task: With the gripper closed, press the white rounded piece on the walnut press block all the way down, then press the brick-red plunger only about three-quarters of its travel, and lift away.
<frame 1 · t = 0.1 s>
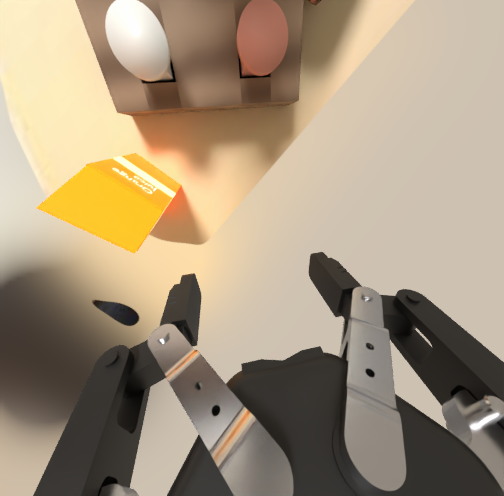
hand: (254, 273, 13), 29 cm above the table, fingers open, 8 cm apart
press block: (206, 69, 28), on the table
orange juice: (150, 186, 35), on the table
brick plunger: (257, 49, 23), point 7 cm above the table, slide at 0.0 cm
white rounded piece: (147, 53, 21), point 7 cm above the table, slide at 0.0 cm
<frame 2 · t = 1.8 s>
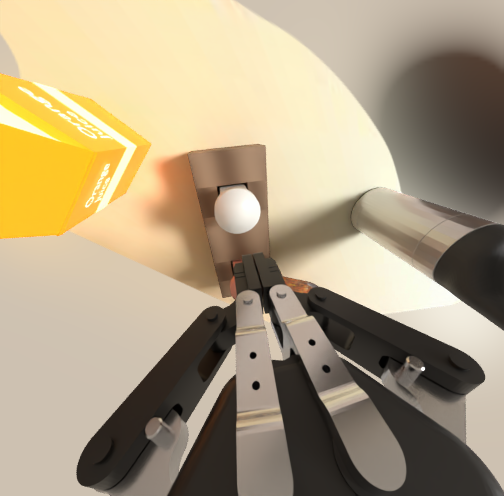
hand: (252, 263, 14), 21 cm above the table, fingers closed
press block: (236, 225, 35), on the table
orange juice: (110, 151, 26), on the table
brick plunger: (245, 276, 32), point 7 cm above the table, slide at 0.0 cm
tin: (293, 283, 46), on the table
white rounded piece: (235, 204, 25), point 7 cm above the table, slide at 0.0 cm
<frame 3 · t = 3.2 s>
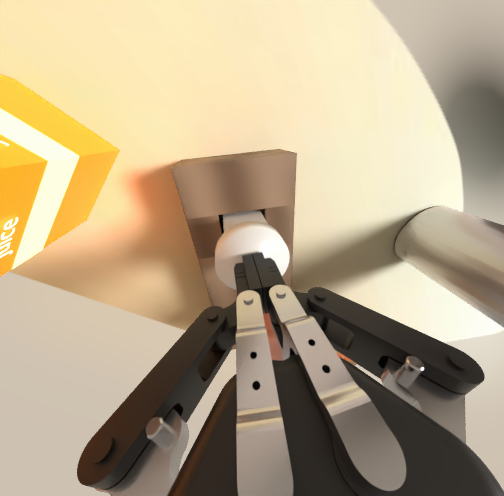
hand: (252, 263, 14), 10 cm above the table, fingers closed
press block: (245, 257, 26), on the table
orange juice: (57, 161, 17), on the table
brick plunger: (257, 332, 23), point 7 cm above the table, slide at 0.0 cm
white rounded piece: (247, 242, 16), point 7 cm above the table, slide at 0.4 cm, touching gripper
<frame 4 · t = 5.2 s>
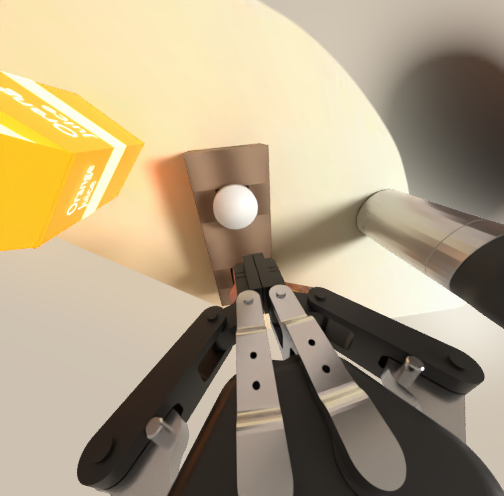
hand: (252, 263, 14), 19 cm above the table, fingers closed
press block: (236, 229, 33), on the table
orange juice: (99, 151, 24), on the table
brick plunger: (246, 284, 30), point 7 cm above the table, slide at 0.0 cm
tin: (295, 288, 44), on the table
white rounded piece: (233, 201, 26), point 4 cm above the table, slide at 3.2 cm
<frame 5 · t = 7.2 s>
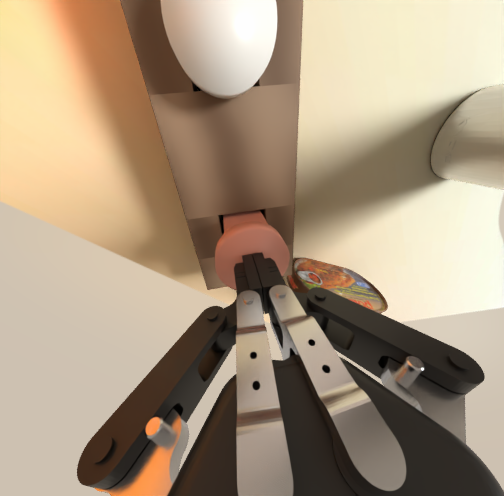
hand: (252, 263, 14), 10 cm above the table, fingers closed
press block: (231, 154, 19), on the table
brick plunger: (247, 242, 16), point 7 cm above the table, slide at 0.4 cm, touching gripper
tin: (321, 269, 30), on the table
white rounded piece: (220, 47, 12), point 4 cm above the table, slide at 3.2 cm
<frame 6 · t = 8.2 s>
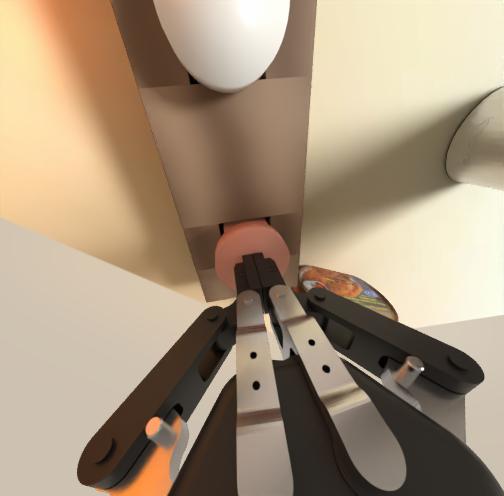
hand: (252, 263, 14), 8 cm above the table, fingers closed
press block: (232, 156, 17), on the table
brick plunger: (247, 242, 16), point 5 cm above the table, slide at 2.2 cm, touching gripper
tin: (326, 277, 28), on the table
white rounded piece: (221, 33, 10), point 4 cm above the table, slide at 3.2 cm
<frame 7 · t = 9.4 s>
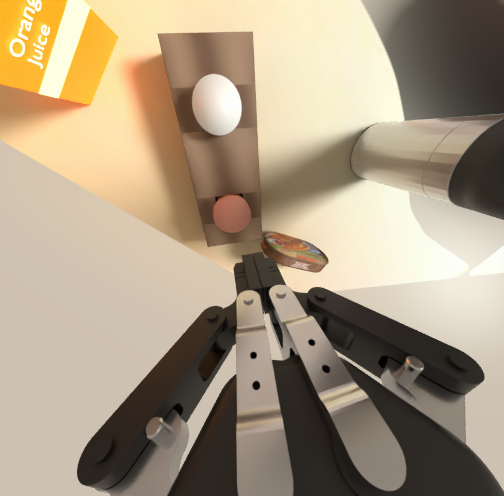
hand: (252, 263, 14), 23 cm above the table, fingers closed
press block: (223, 161, 31), on the table
orange juice: (68, 43, 21), on the table
brick plunger: (230, 208, 30), point 5 cm above the table, slide at 2.2 cm
tin: (287, 241, 42), on the table
white rounded piece: (216, 110, 24), point 4 cm above the table, slide at 3.2 cm
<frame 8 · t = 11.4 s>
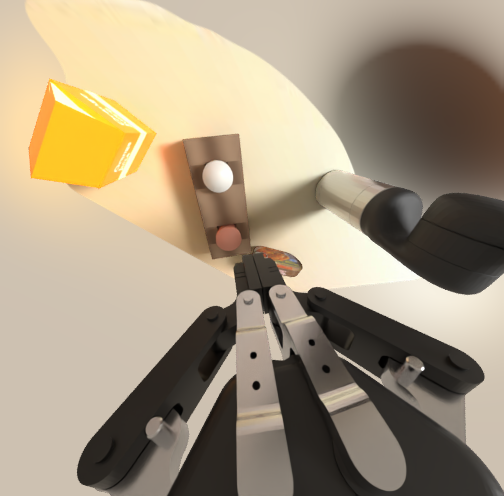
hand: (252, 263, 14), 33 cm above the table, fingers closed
press block: (222, 199, 44), on the table
orange juice: (126, 138, 35), on the table
brick plunger: (228, 233, 43), point 5 cm above the table, slide at 2.2 cm
tin: (272, 253, 55), on the table
white rounded piece: (217, 174, 37), point 4 cm above the table, slide at 3.2 cm
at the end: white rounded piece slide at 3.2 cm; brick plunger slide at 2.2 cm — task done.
